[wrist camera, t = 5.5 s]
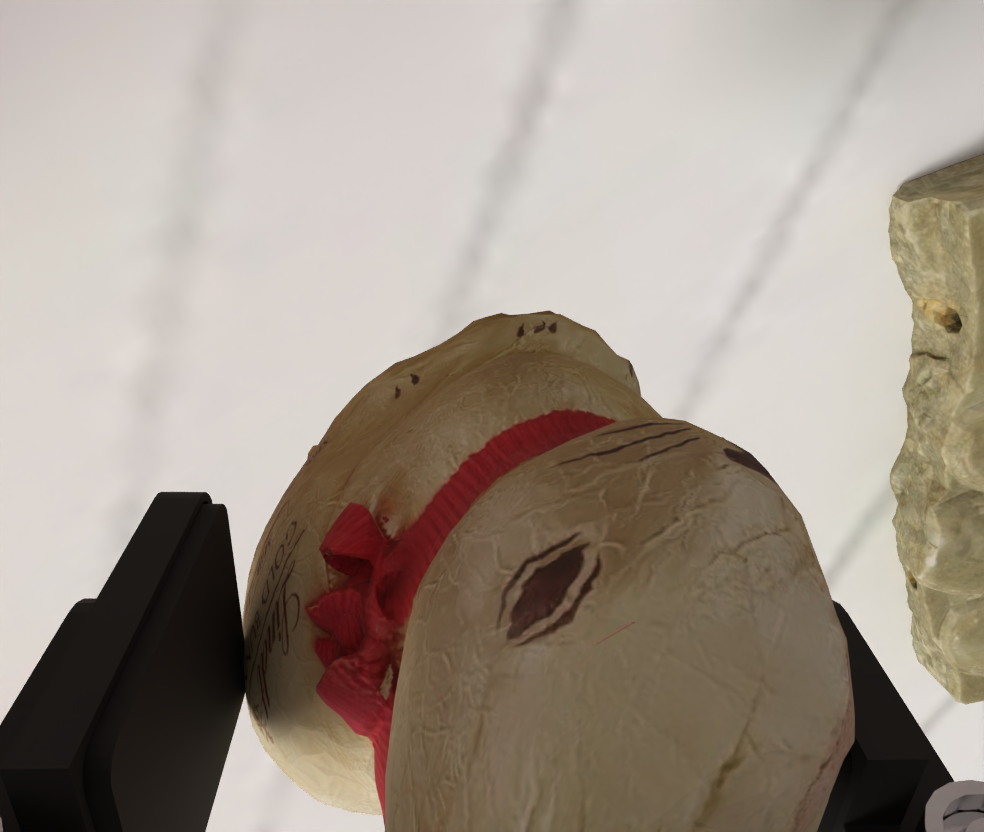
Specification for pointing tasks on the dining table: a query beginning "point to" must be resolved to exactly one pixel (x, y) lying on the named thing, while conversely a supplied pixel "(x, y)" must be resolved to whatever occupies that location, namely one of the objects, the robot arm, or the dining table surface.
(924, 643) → the decorative tile
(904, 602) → the dining table surface
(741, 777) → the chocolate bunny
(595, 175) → the dining table surface
